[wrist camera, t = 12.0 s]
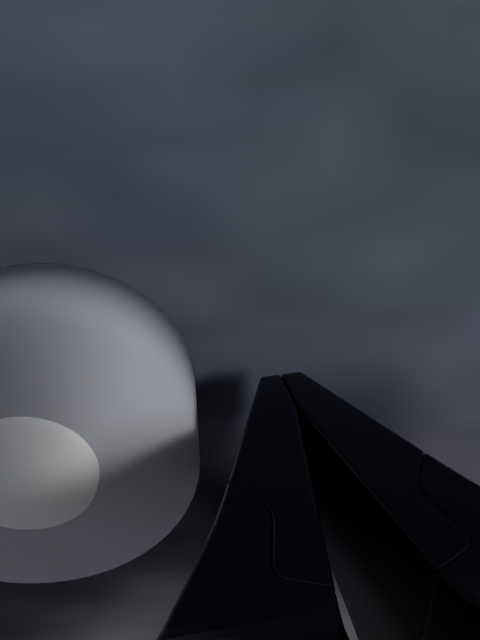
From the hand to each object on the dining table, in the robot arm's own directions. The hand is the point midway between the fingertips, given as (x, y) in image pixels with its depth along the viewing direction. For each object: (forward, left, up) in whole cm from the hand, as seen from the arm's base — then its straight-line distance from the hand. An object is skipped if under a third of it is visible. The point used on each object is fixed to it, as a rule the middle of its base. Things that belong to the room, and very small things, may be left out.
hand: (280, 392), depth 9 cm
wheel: (0, +5, -1) cm, 5 cm away
